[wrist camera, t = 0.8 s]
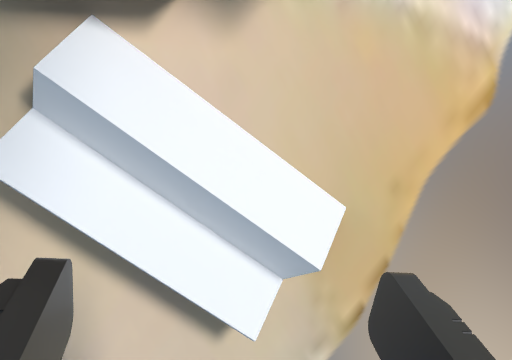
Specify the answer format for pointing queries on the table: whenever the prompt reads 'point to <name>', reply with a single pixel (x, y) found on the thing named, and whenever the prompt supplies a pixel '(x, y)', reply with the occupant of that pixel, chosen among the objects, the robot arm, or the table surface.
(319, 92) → the table surface
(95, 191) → the z bracket
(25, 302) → the robot arm
